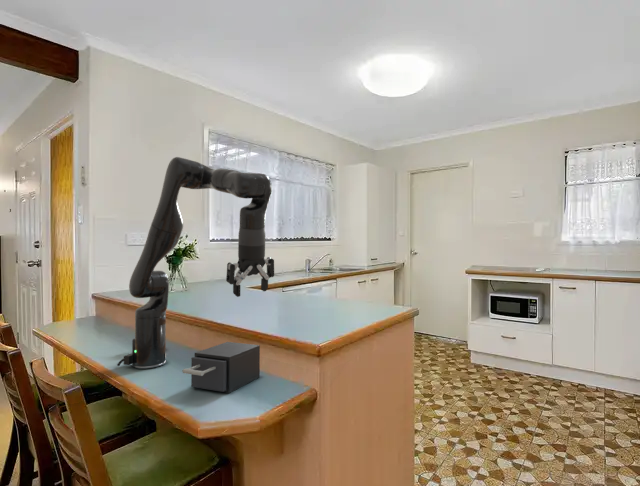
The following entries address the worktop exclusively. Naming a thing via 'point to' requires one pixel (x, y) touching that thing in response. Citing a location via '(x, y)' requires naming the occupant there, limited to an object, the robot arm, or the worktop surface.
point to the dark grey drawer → (208, 373)
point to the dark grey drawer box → (236, 362)
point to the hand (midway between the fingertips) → (250, 293)
